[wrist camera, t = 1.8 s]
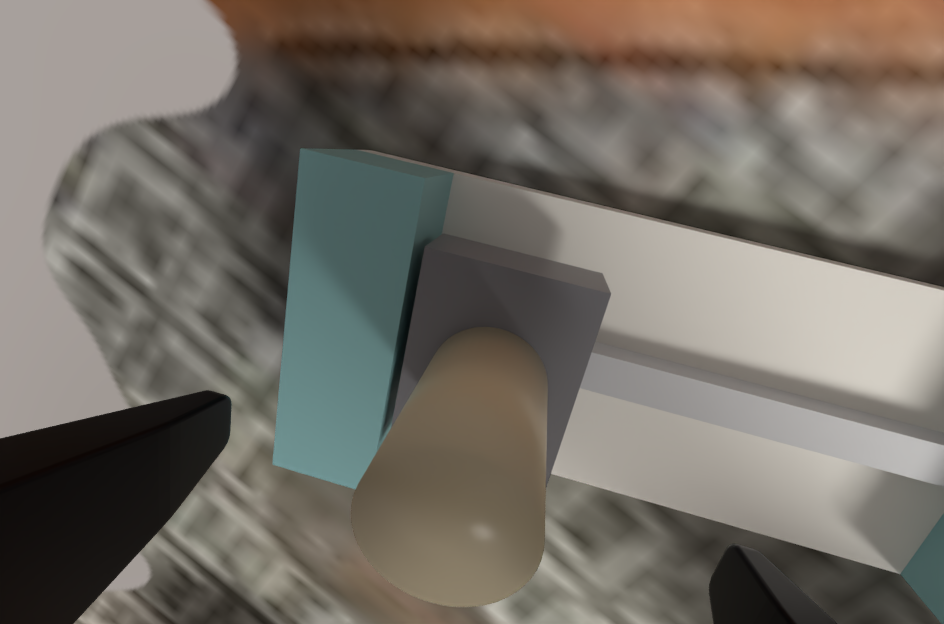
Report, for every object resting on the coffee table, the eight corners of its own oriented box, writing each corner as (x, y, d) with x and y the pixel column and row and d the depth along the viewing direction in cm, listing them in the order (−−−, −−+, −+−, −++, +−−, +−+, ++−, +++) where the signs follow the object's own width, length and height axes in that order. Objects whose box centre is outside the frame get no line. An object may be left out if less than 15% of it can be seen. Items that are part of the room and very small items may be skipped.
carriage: (543, 438, 16) (535, 703, 8) (415, 402, 16) (292, 623, 8) (598, 264, 14) (657, 402, 6) (450, 227, 14) (330, 313, 6)
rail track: (966, 571, 16) (1110, 716, 12) (337, 392, 18) (272, 464, 14) (1148, 335, 13) (1425, 420, 9) (370, 150, 15) (300, 148, 11)
